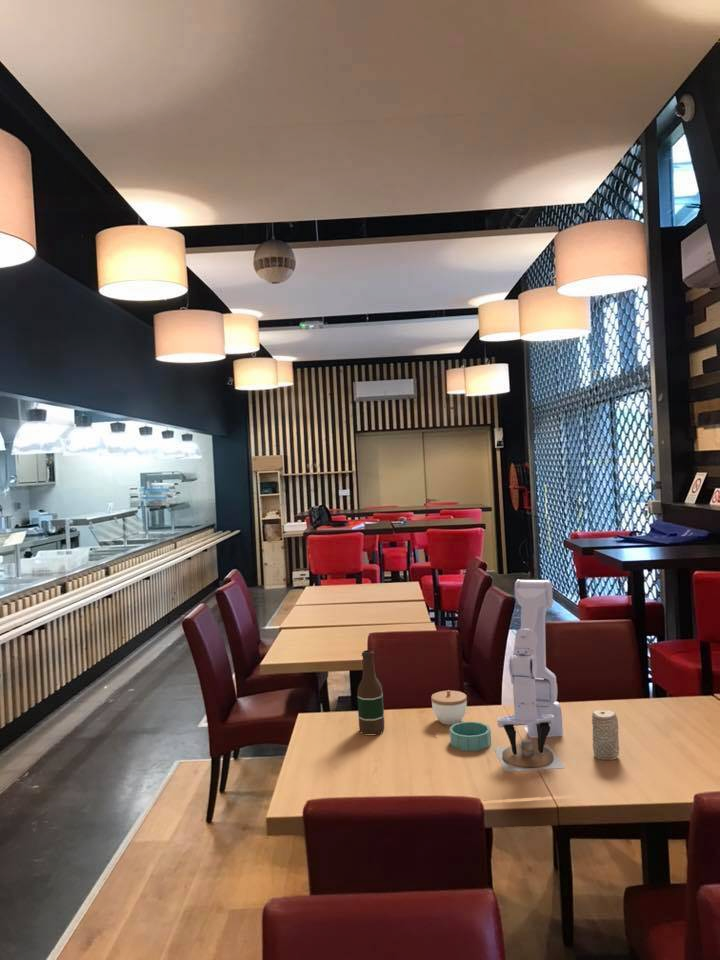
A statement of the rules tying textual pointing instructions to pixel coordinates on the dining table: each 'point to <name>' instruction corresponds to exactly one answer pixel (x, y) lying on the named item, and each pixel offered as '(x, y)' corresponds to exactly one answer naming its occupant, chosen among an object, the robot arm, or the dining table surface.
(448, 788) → the dining table surface
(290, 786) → the dining table surface
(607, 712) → the carving
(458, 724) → the bowl
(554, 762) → the mat
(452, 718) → the lidded jar
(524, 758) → the lid
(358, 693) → the beer bottle
